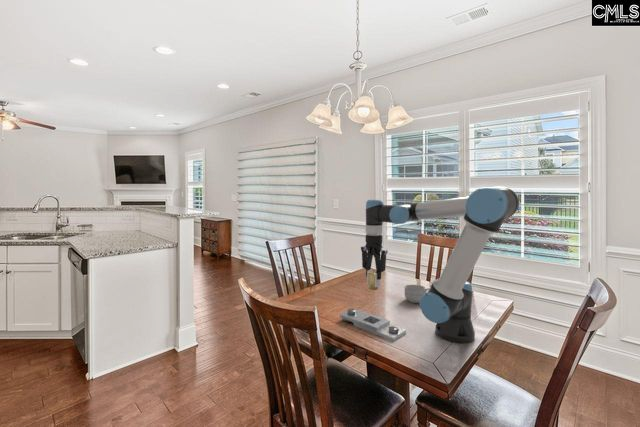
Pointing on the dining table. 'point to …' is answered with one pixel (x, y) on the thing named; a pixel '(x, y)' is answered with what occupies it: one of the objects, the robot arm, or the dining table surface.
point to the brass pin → (372, 281)
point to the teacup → (414, 292)
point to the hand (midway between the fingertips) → (373, 284)
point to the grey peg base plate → (378, 326)
